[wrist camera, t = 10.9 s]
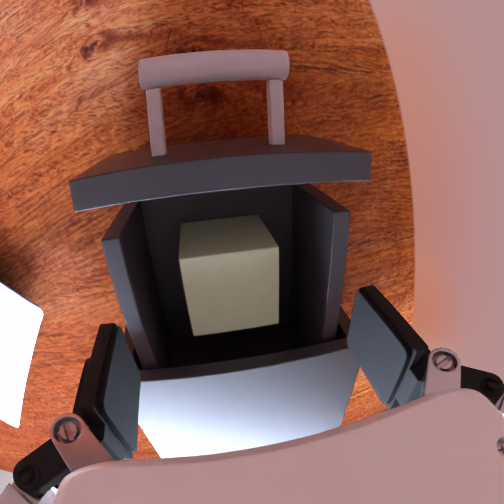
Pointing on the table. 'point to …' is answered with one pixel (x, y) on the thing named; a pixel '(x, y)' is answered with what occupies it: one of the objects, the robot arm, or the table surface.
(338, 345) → the cabinet
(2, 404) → the plate
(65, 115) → the table surface
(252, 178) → the drawer
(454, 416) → the robot arm
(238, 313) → the block
